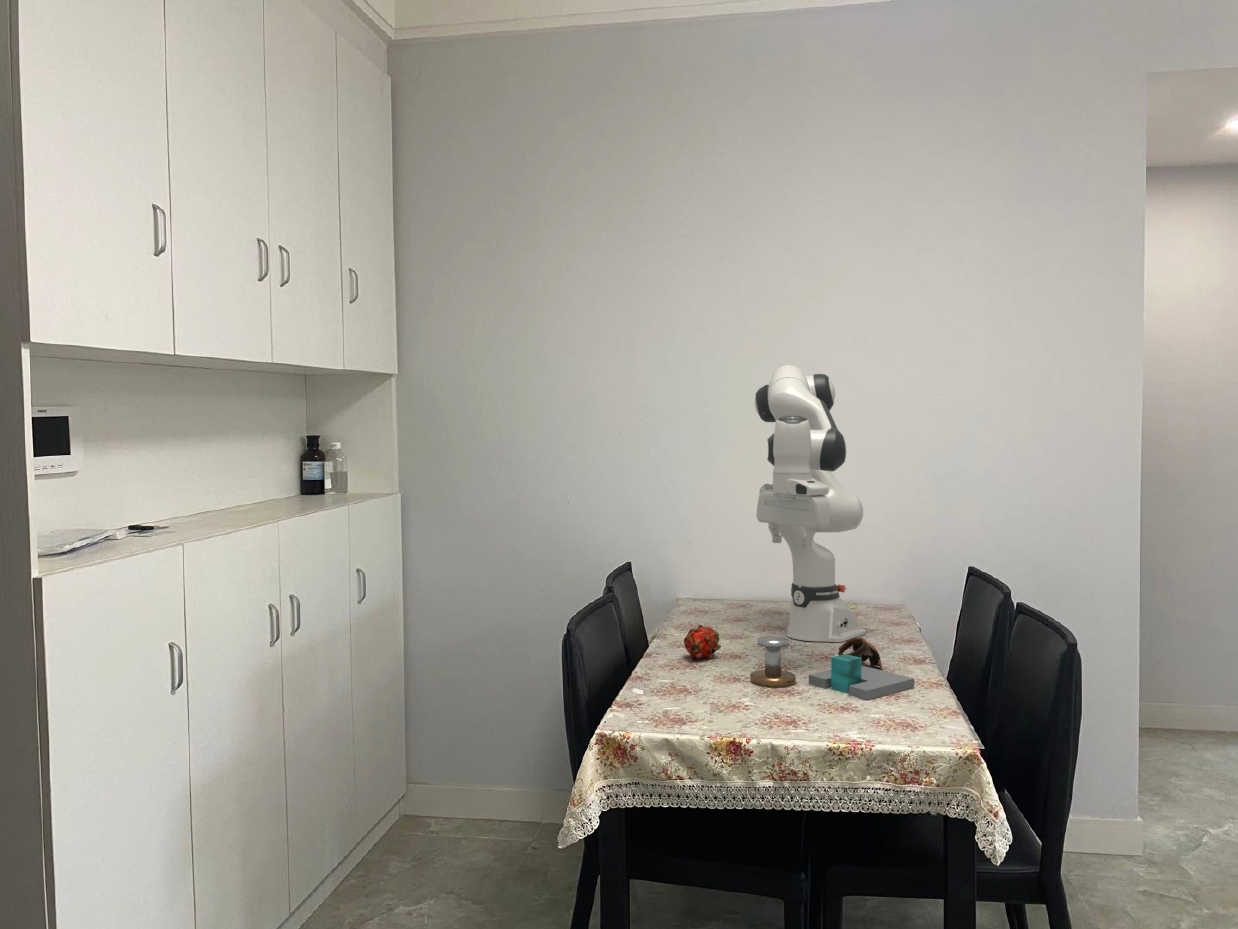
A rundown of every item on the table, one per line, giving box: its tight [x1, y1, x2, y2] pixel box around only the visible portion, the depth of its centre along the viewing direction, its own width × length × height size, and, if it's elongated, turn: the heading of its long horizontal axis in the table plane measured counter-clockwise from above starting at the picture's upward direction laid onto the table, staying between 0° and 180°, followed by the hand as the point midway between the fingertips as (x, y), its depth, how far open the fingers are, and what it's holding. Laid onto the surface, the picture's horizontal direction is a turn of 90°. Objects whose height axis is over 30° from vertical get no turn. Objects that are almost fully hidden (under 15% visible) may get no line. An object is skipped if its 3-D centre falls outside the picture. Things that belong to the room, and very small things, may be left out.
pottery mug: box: [837, 637, 883, 671], centre depth 235 cm, size 12×10×8 cm
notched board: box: [808, 664, 915, 701], centre depth 219 cm, size 16×16×2 cm
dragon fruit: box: [683, 624, 722, 661], centre depth 245 cm, size 8×8×12 cm
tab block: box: [830, 653, 862, 695], centre depth 216 cm, size 4×4×7 cm
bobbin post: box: [749, 635, 797, 689], centre depth 222 cm, size 10×10×10 cm
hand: (791, 544), depth 233 cm, fingers open, 8 cm apart
